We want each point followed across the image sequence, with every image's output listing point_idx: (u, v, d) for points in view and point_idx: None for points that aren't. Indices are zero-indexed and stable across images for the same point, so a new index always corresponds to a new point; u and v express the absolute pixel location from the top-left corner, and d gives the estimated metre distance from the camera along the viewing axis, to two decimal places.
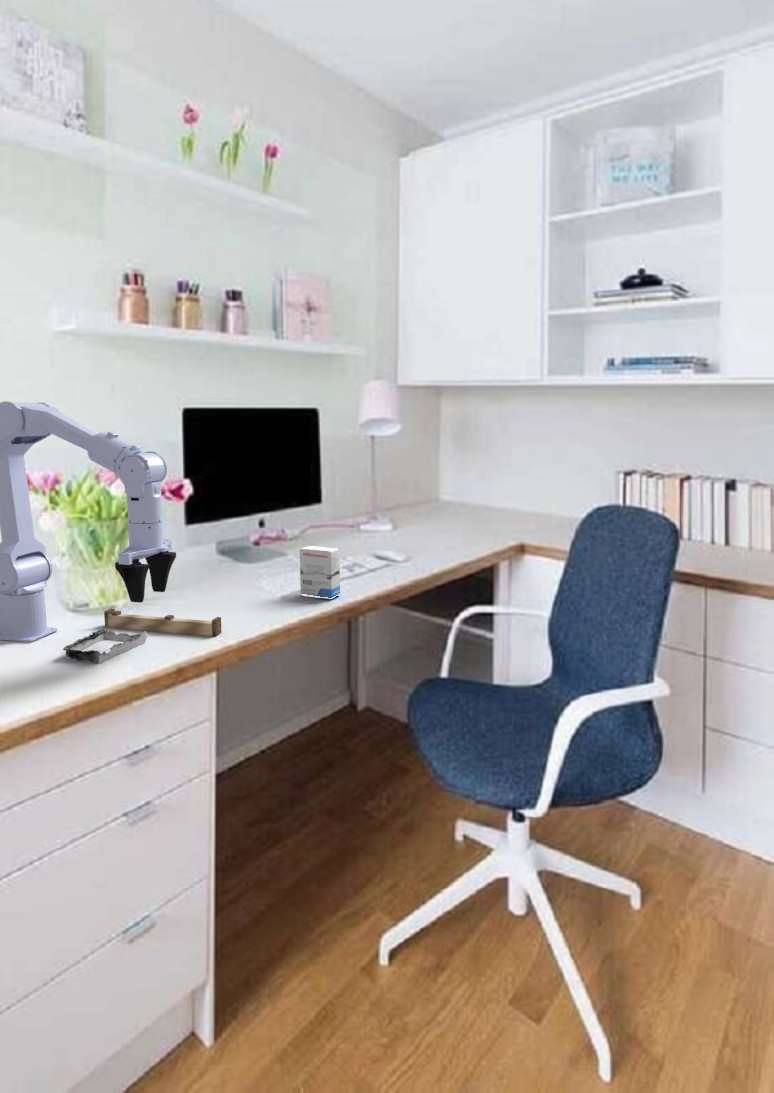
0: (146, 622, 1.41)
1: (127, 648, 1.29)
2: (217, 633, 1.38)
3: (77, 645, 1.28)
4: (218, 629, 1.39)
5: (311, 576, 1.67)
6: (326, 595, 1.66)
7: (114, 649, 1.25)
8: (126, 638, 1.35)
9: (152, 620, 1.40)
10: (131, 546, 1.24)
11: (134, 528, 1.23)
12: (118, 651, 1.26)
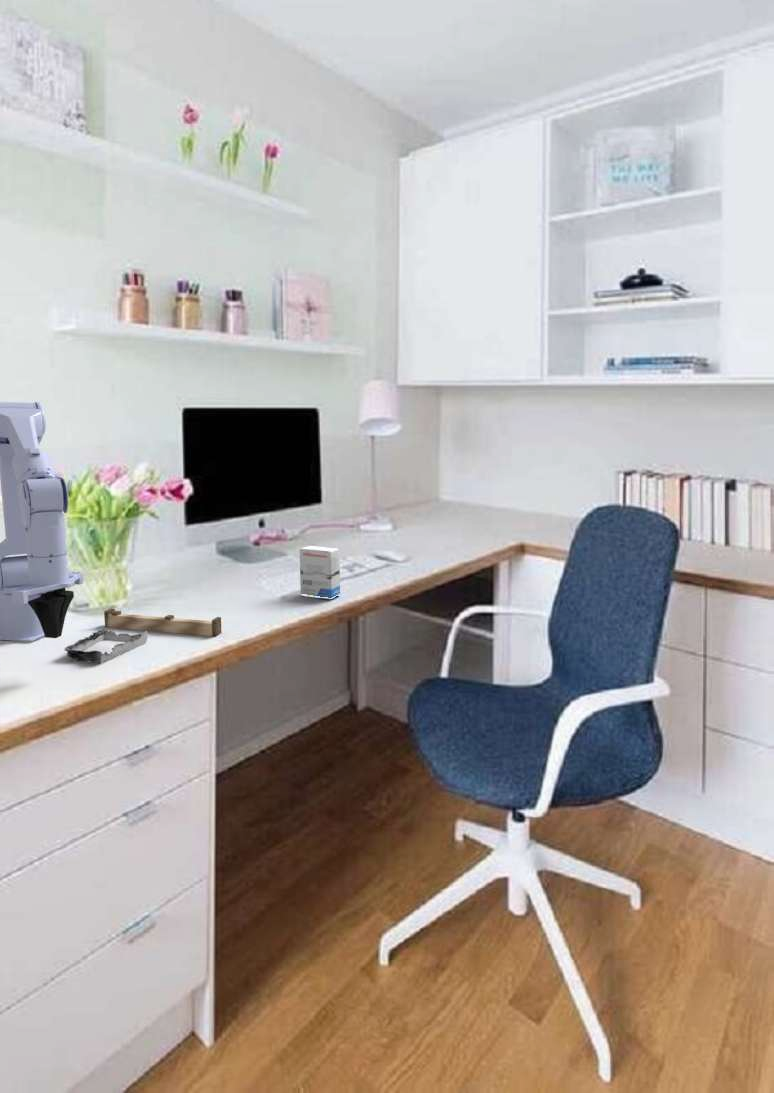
0: (146, 622, 1.41)
1: (128, 648, 1.28)
2: (217, 633, 1.38)
3: (79, 645, 1.27)
4: (218, 629, 1.39)
5: (311, 576, 1.67)
6: (326, 595, 1.66)
7: (116, 649, 1.25)
8: (127, 638, 1.34)
9: (152, 620, 1.40)
10: (30, 582, 1.11)
11: (33, 562, 1.10)
12: (120, 651, 1.26)
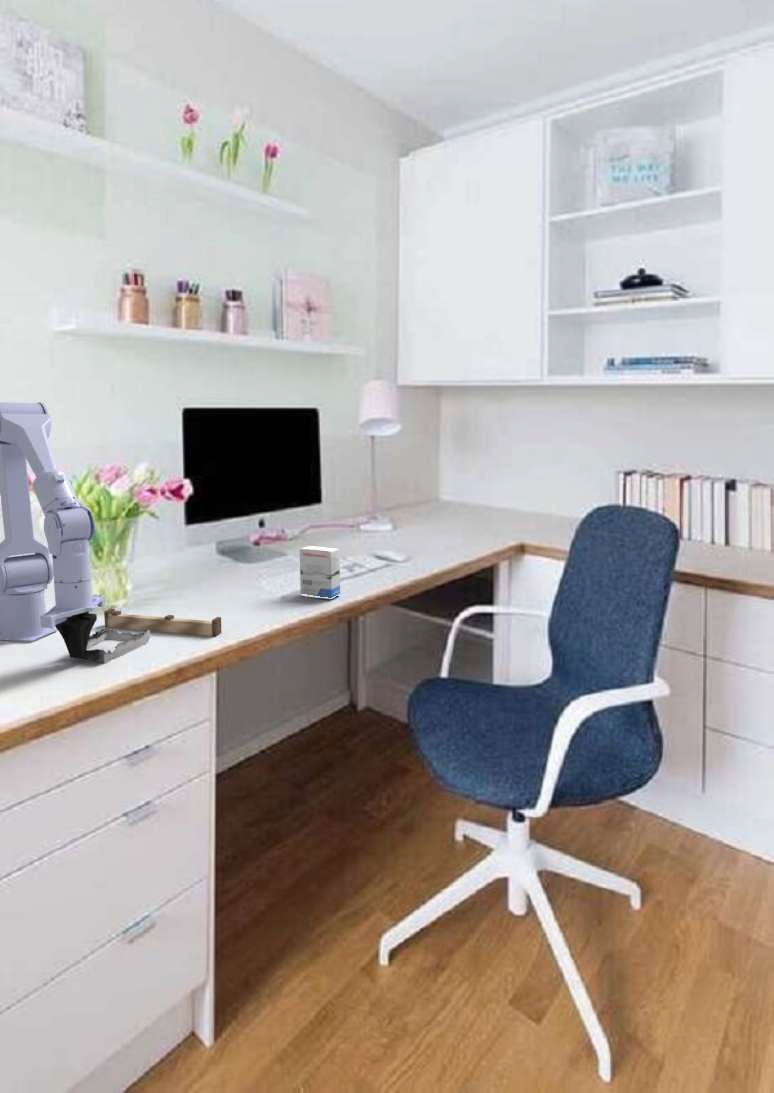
0: (146, 622, 1.41)
1: (131, 647, 1.29)
2: (217, 633, 1.38)
3: None
4: (218, 629, 1.39)
5: (311, 576, 1.67)
6: (326, 595, 1.66)
7: (119, 648, 1.25)
8: (129, 637, 1.35)
9: (152, 620, 1.40)
10: (57, 606, 1.18)
11: (59, 588, 1.17)
12: (123, 650, 1.27)
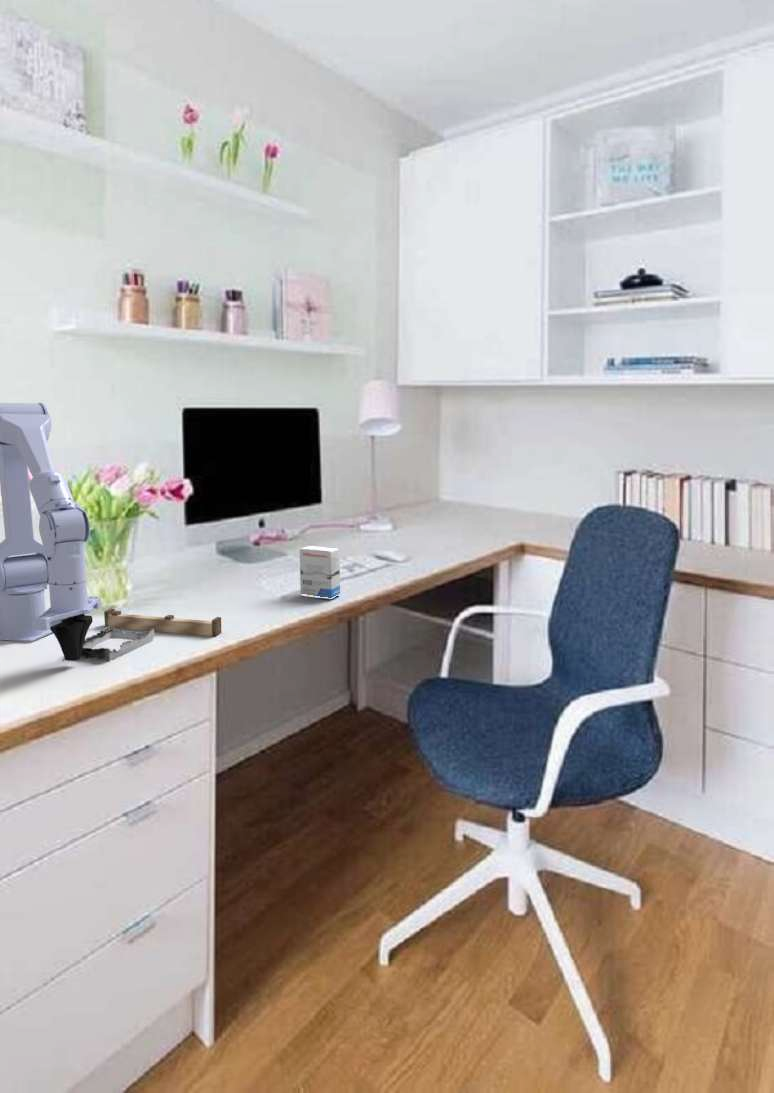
0: (146, 622, 1.41)
1: (135, 646, 1.30)
2: (217, 633, 1.38)
3: (86, 643, 1.29)
4: (218, 629, 1.39)
5: (311, 576, 1.67)
6: (326, 595, 1.66)
7: (124, 646, 1.27)
8: (133, 636, 1.36)
9: (152, 620, 1.40)
10: (52, 608, 1.17)
11: (54, 589, 1.16)
12: (127, 649, 1.28)
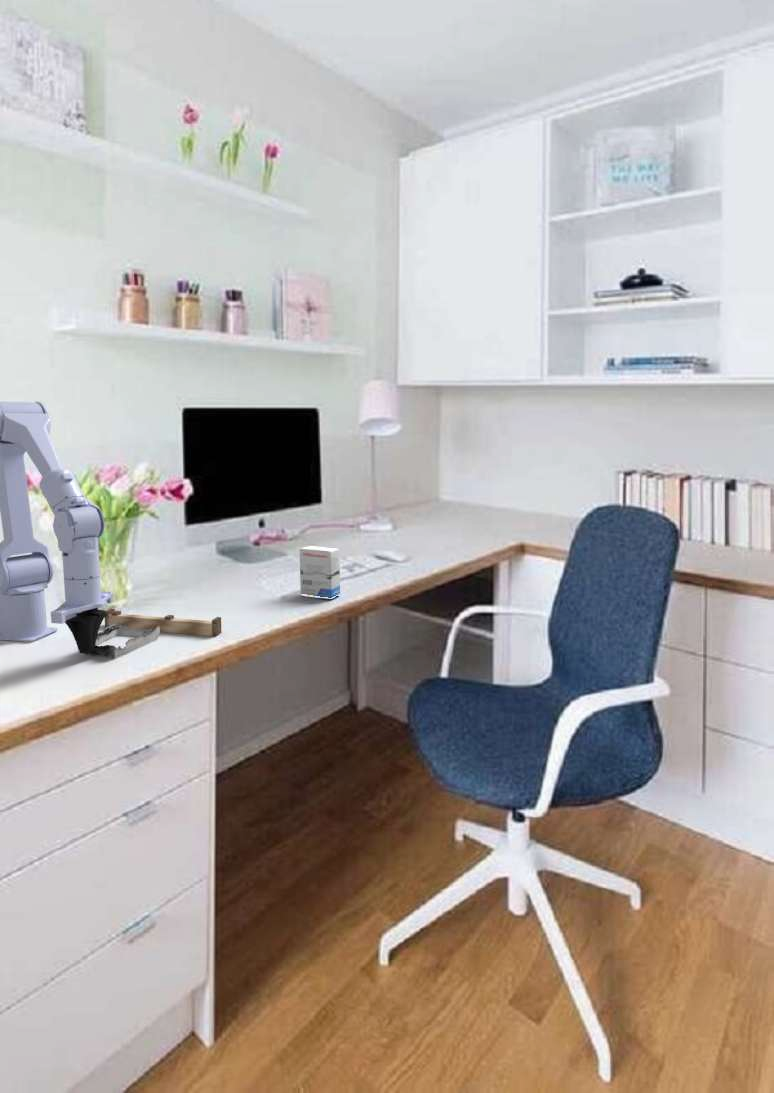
0: (146, 622, 1.41)
1: (141, 643, 1.31)
2: (217, 633, 1.38)
3: None
4: (218, 629, 1.39)
5: (311, 576, 1.67)
6: (326, 595, 1.66)
7: (129, 644, 1.28)
8: (139, 633, 1.37)
9: (152, 620, 1.40)
10: (67, 602, 1.20)
11: (69, 584, 1.19)
12: (133, 646, 1.29)
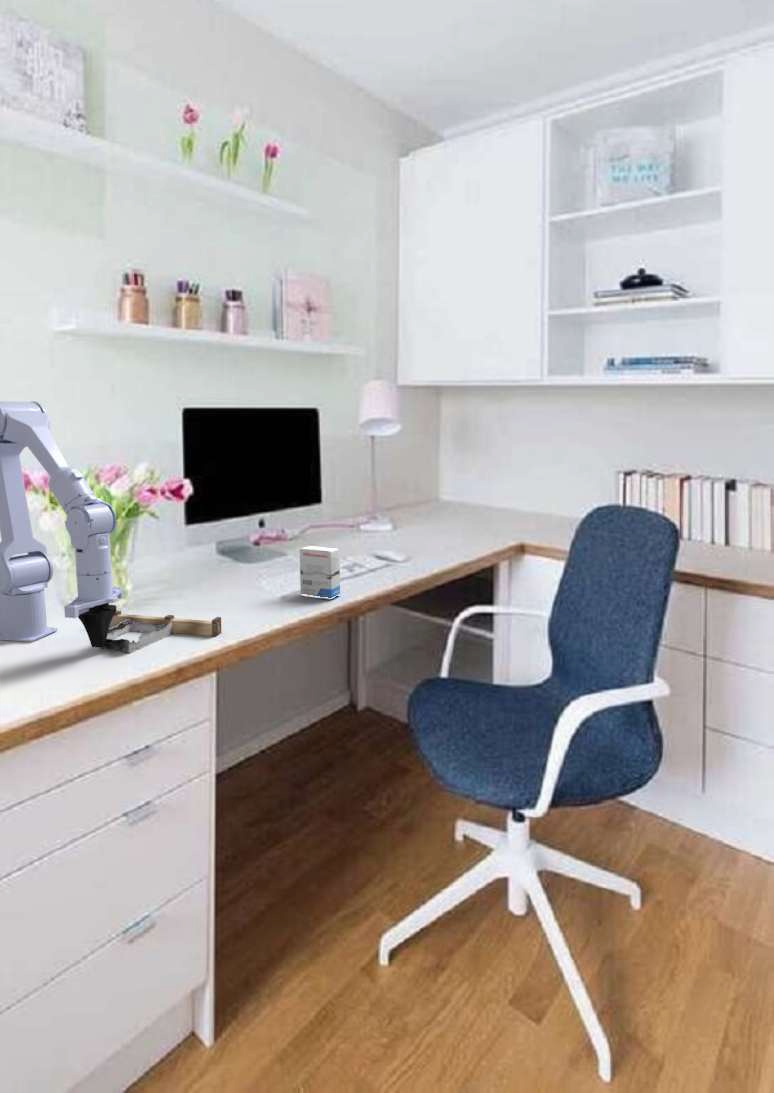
0: (146, 622, 1.41)
1: (154, 637, 1.34)
2: (217, 633, 1.38)
3: (107, 634, 1.33)
4: (218, 629, 1.39)
5: (311, 576, 1.67)
6: (326, 595, 1.66)
7: (143, 638, 1.31)
8: (152, 628, 1.40)
9: (152, 620, 1.40)
10: (79, 597, 1.24)
11: (82, 580, 1.23)
12: (146, 640, 1.32)
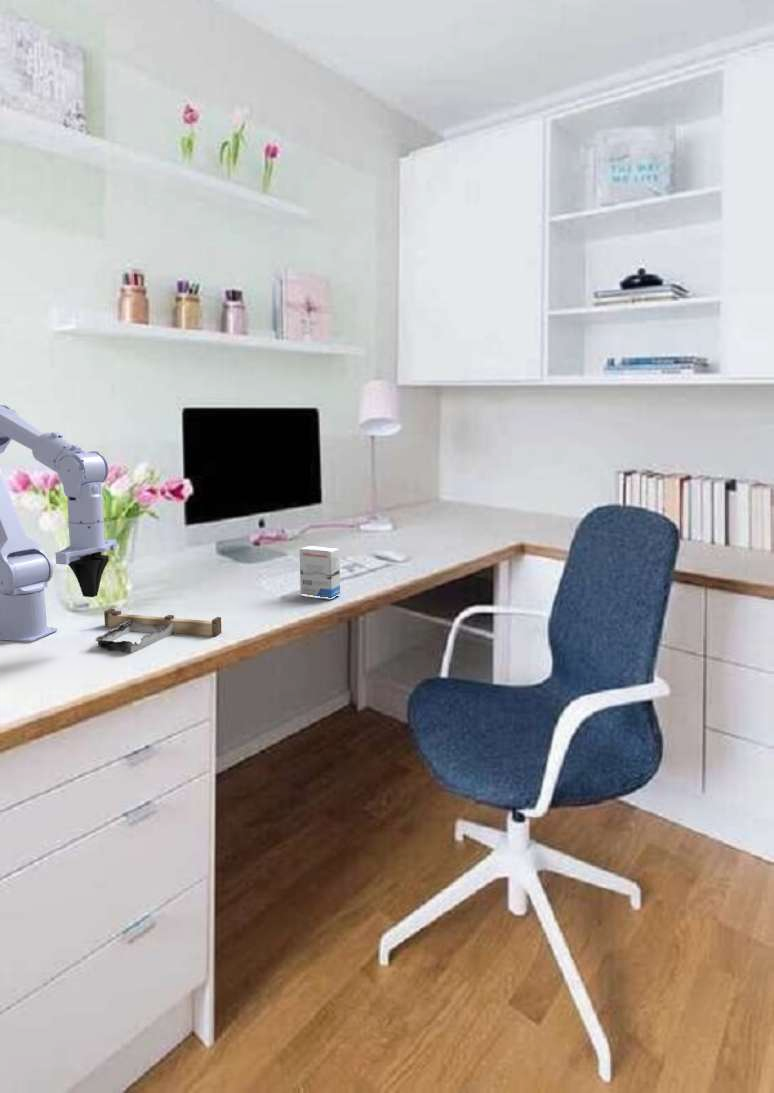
0: (146, 622, 1.41)
1: (155, 639, 1.34)
2: (217, 633, 1.38)
3: (108, 636, 1.33)
4: (218, 629, 1.39)
5: (311, 576, 1.67)
6: (326, 595, 1.66)
7: (145, 639, 1.31)
8: (153, 630, 1.40)
9: (152, 620, 1.40)
10: (71, 546, 1.24)
11: (73, 528, 1.23)
12: (148, 642, 1.32)
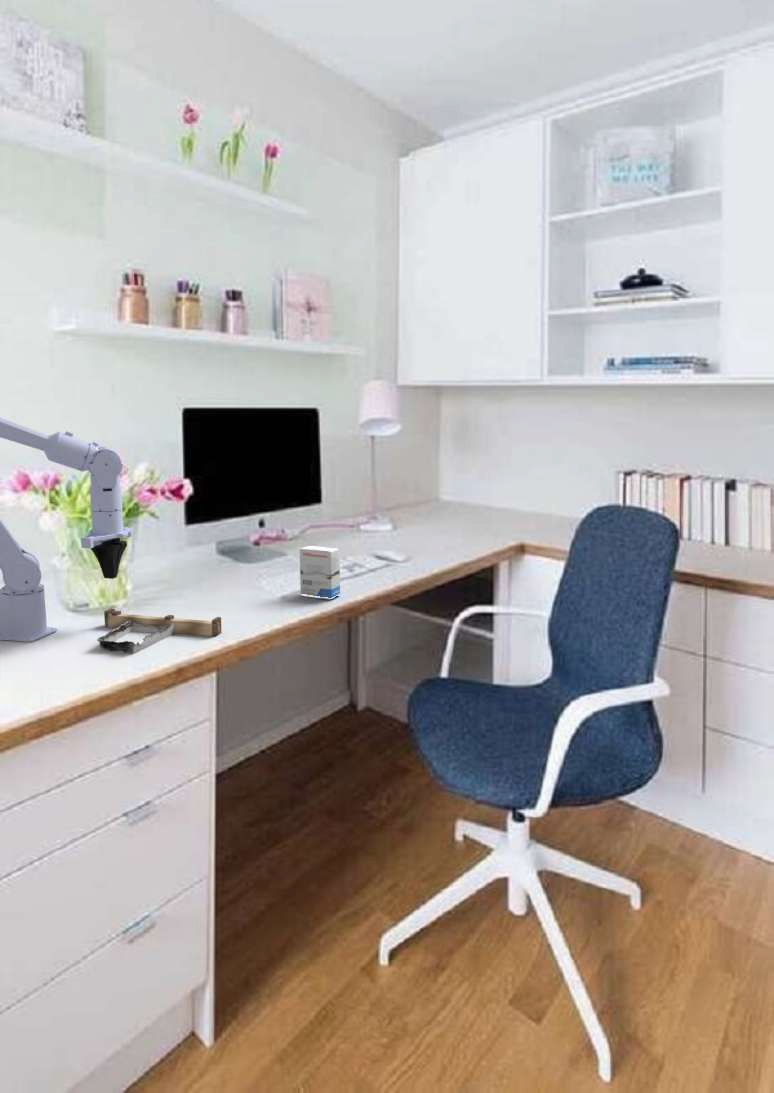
0: (146, 622, 1.41)
1: (157, 639, 1.34)
2: (217, 633, 1.38)
3: (109, 637, 1.33)
4: (218, 629, 1.39)
5: (311, 576, 1.67)
6: (326, 595, 1.66)
7: (147, 640, 1.31)
8: (154, 630, 1.40)
9: (152, 620, 1.40)
10: (94, 532, 1.38)
11: (96, 516, 1.37)
12: (150, 642, 1.32)
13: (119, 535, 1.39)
